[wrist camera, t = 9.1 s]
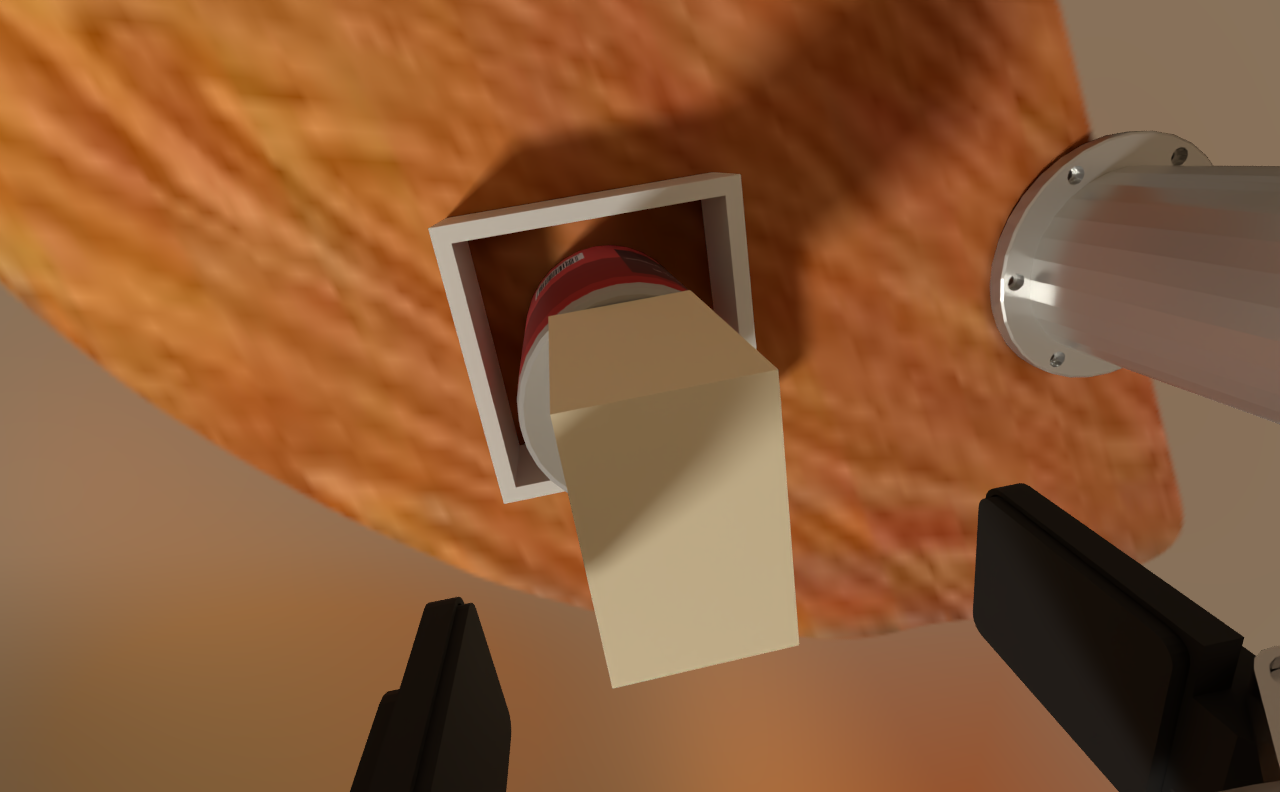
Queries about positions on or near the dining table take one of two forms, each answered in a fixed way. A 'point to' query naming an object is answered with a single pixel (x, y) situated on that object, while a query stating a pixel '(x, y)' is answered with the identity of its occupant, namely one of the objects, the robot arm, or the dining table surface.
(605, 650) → the plain beige cuboid
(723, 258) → the box
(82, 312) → the dining table surface
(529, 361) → the canned food
